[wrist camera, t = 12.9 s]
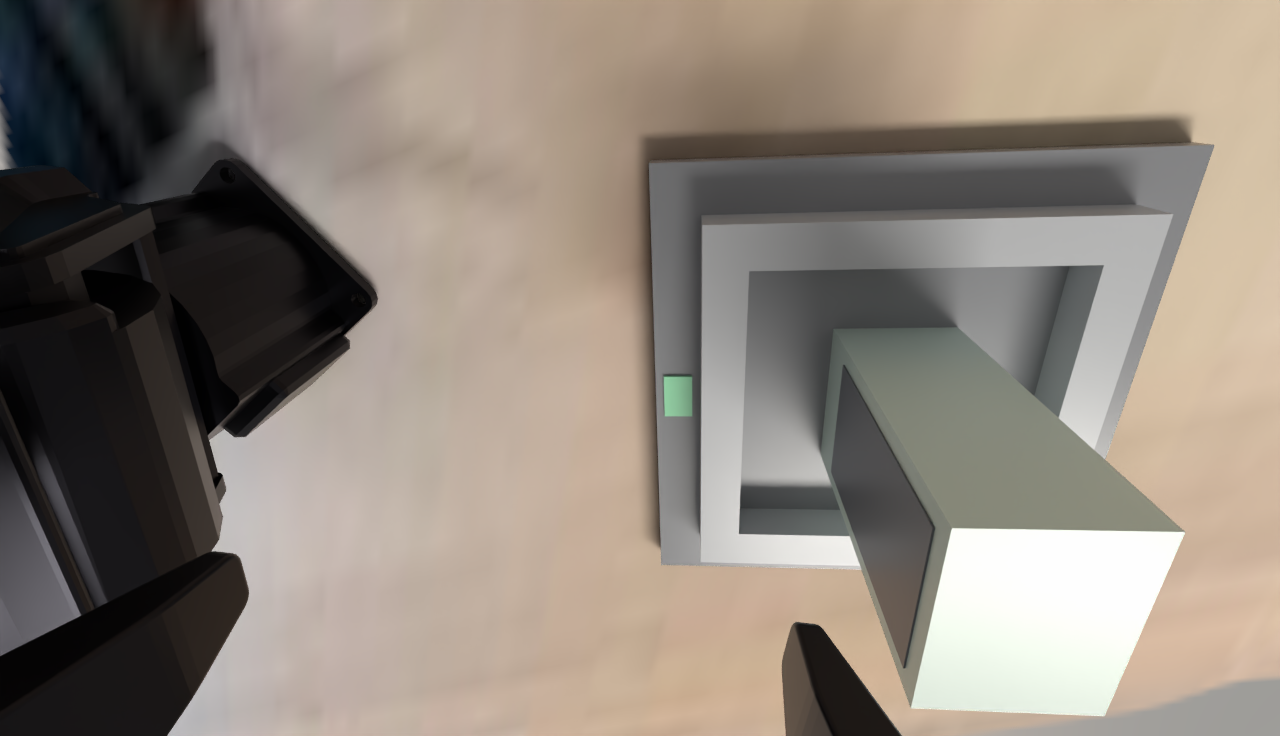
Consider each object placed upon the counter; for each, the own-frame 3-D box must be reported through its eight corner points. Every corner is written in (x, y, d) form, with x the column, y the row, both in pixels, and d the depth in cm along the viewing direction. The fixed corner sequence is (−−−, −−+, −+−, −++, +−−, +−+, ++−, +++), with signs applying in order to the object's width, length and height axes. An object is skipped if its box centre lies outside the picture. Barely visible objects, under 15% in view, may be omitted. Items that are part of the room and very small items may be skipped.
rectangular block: (819, 454, 22) (908, 708, 13) (832, 328, 20) (948, 528, 11) (932, 455, 22) (1104, 716, 13) (957, 327, 20) (1185, 532, 11)
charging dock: (662, 551, 26) (659, 592, 24) (650, 160, 19) (645, 169, 17) (1054, 560, 24) (1088, 604, 22) (1192, 142, 18) (1260, 149, 16)
